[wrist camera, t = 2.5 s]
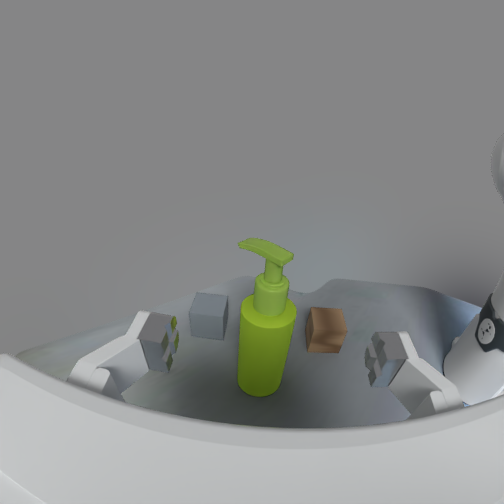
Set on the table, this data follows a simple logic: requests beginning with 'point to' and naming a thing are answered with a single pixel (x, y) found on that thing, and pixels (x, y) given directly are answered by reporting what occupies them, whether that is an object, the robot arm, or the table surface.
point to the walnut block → (325, 330)
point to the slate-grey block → (209, 316)
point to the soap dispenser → (265, 322)
